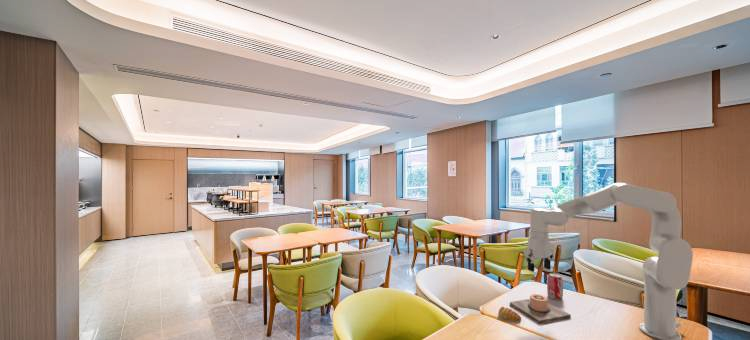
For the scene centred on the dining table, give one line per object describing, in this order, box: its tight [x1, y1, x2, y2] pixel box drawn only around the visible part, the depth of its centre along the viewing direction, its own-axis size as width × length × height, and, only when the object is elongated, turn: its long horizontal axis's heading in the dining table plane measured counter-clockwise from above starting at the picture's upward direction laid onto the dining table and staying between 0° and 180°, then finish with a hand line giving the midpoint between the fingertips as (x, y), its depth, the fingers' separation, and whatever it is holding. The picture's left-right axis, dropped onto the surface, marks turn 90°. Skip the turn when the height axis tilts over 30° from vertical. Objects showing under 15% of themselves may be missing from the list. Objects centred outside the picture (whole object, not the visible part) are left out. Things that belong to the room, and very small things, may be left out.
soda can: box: [546, 272, 564, 300], centre depth 153 cm, size 7×7×12 cm
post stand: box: [509, 297, 572, 325], centre depth 139 cm, size 18×18×6 cm
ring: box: [529, 293, 549, 312], centre depth 138 cm, size 7×7×5 cm
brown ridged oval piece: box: [498, 306, 522, 323], centre depth 133 cm, size 9×7×4 cm
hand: (539, 269), depth 138 cm, fingers open, 9 cm apart
